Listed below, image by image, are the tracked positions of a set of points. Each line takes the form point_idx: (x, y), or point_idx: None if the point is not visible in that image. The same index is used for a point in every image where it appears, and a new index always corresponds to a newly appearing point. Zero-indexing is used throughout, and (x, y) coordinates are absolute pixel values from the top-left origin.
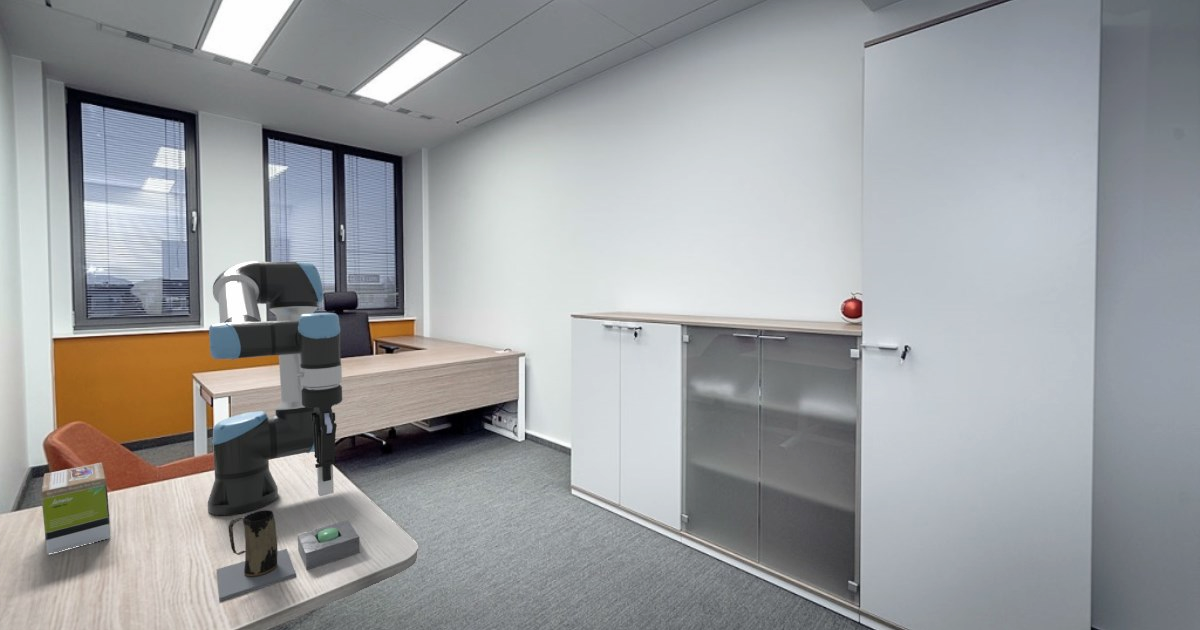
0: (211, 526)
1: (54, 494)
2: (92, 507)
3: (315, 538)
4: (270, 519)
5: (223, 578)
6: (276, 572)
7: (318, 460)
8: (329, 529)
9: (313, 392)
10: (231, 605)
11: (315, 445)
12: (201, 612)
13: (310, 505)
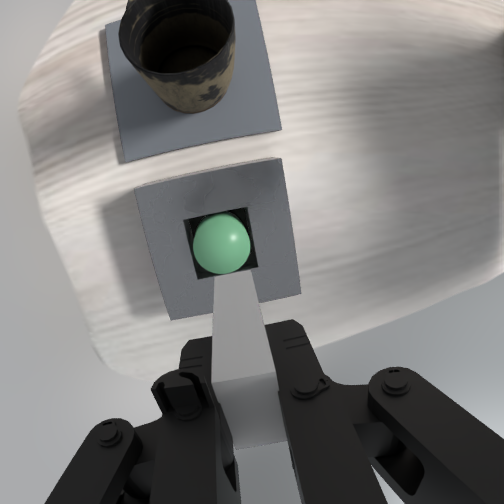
0: (475, 19)
1: None
2: None
3: (220, 209)
4: (145, 74)
5: None
6: (153, 116)
7: (283, 405)
8: (240, 250)
9: None
10: (77, 54)
11: (441, 464)
12: (86, 11)
13: (489, 194)
